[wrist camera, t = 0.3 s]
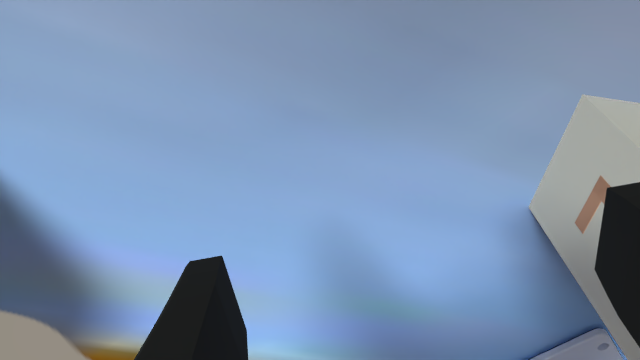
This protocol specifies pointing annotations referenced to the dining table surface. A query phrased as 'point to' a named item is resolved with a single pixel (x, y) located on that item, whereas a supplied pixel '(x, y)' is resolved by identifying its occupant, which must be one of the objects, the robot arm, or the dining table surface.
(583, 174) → the block
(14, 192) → the dining table surface
